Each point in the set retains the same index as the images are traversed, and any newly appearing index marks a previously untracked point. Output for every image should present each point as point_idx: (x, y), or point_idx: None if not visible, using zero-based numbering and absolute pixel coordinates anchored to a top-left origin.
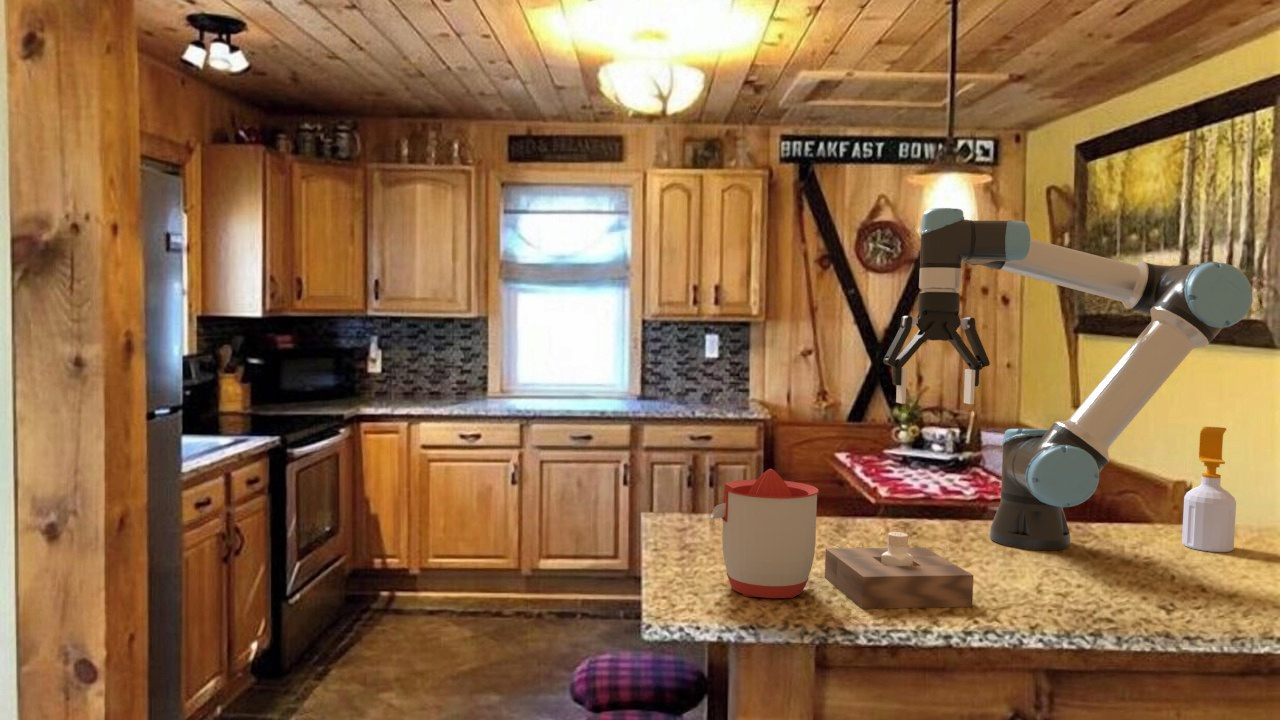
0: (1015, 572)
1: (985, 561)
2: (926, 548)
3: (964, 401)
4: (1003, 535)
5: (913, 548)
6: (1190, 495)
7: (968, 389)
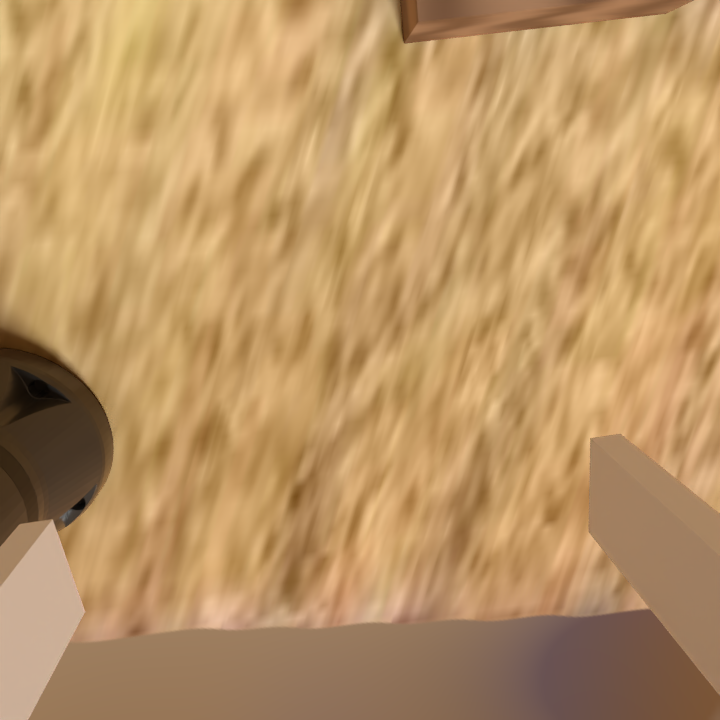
0: (138, 100)
1: (190, 218)
2: (419, 7)
3: (76, 610)
4: (85, 406)
5: (458, 5)
6: None
7: (2, 644)
